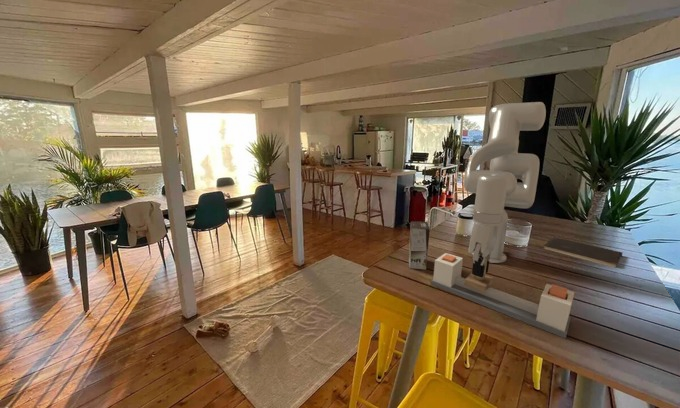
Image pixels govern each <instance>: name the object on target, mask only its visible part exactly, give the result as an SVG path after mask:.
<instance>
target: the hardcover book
mask: <svg viewBox="0 0 680 408" xmlns="http://www.w3.org/2000/svg"><path fill="white" fill-rule="evenodd" d="M543 246H544V250H547V251H552V252H556V253H559V254H564V255H566V256H567V255H568V256H569V257H573V258H579V259H580V260H585V261H589V262H593V263H596V264H600V265H605V266H608V267H611V268H616V267H617V264H618V263H619V261H620V259H621V257H622V256H623V252H622V251H618V250H612V249H609V248H605V247H600V246H596V245H591V244H588V243H587V244H586V243H583V242H579V241H574V240H570V239H567V238H561V237H557V236H553V237H552V238H551V239H550V240H548V241H547V242H546V243H545V244H543Z"/></svg>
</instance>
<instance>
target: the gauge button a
mask: <svg viewBox="0 0 680 408" xmlns="http://www.w3.org/2000/svg"><path fill="white" fill-rule="evenodd" d="M454 256H455V255H454ZM454 256H450V255H447V254H446V255H445V256H444V257H442V260H444V261H448V262H451V263H453V262H455V261H456V257H454Z"/></svg>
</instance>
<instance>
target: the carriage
mask: <svg viewBox="0 0 680 408" xmlns="http://www.w3.org/2000/svg"><path fill="white" fill-rule="evenodd" d="M480 254H482V253H480ZM482 255H483V254H482ZM479 258H480V259H481V260H482V257H479ZM487 259H488V255H487V256H486V257H485V261H484V265H485V269H484V276H483V277H479V276H476V275H473V274H472V272H470V274H469V275H467V277H465V282H464V285H466V286H469V287H471V288H474V289H477V290H479V291H482V292H486V290H487V289H488V288H489V287H491V286H492V284H493V282H494V278H493V277H492V276H489V275H486V274H487V273H486V266H487Z"/></svg>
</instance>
